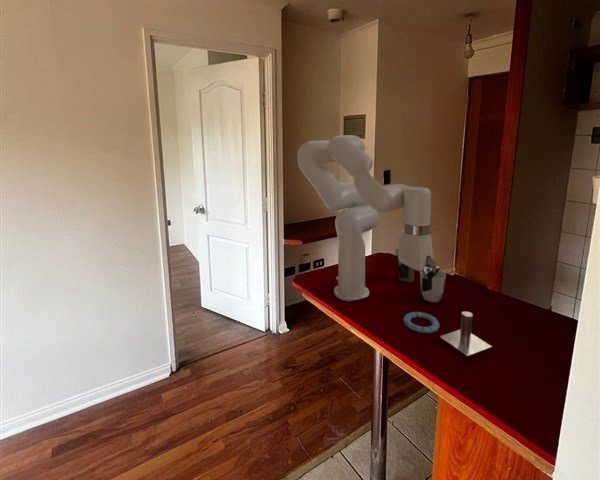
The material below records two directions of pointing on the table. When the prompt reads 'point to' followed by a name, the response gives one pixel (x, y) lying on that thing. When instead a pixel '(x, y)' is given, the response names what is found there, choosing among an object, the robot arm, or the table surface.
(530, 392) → the table surface
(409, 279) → the cork
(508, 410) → the table surface
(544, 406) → the table surface
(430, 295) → the cup
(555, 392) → the table surface
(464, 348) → the post
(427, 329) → the ring
